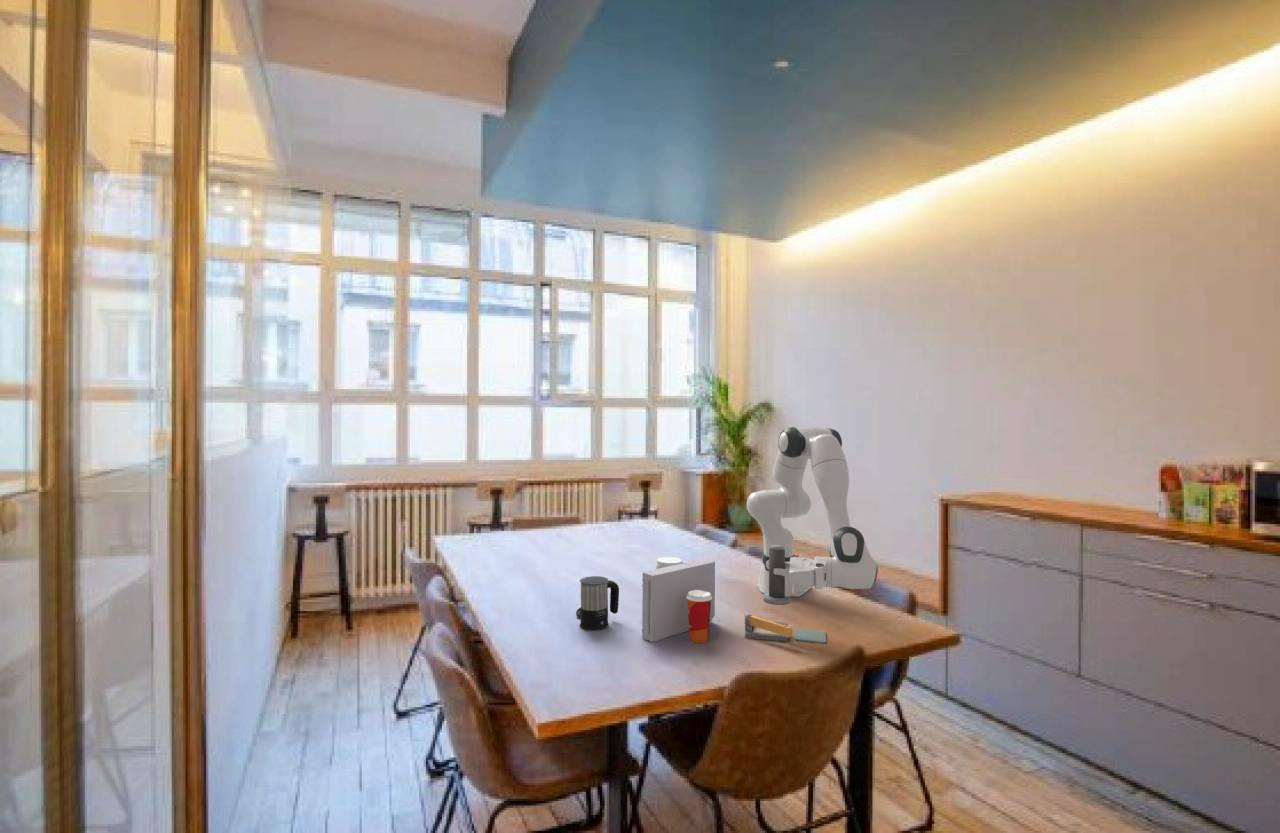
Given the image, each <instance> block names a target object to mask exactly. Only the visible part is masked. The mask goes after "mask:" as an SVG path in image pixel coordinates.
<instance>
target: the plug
mask: <svg viewBox="0 0 1280 833" xmlns="http://www.w3.org/2000/svg"><path fill="white" fill-rule="evenodd" d="M774 568H781V569H785V549H784V546H782V545H771V546H770V549H769V593H763V602H764V603H766V604H769V605H773V606H785V605H786V606H787V605H789V604H790V603H791V596H789V595H788V594H785V576H782V575H776V574H774Z"/></svg>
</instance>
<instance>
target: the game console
mask: <svg viewBox="0 0 1280 833" xmlns="http://www.w3.org/2000/svg"><path fill="white" fill-rule="evenodd" d="M641 580H642V585H641V586H642V614H641V615H642V616H641V617H642V621H641V622H642V624H641V626H642V628H641V634H642V635H641V636H642V639H644V640H646V641H648V640H649V642H651V643H654V642H657V641H660V640H663V639H666V638H669V637H672V636H675V635H678V634H681V633H685V632H687V631H688V632H689V619H688V599H687V598H686V597H687V595H688V592H690V591H693V590H702V591H707V592H710V594H711V597H712V599H711V607H710V623H709V625H710V624H711V623H712V620H713V619H714V618H715V614H716V613H715V612H716V611H715V608H716V607H715V605H716V603H715V602H716V598H715V597H716V561H714V560H709V559H706V558H699V559H695V560H689V561H686V562H682V564H678V565H673V566H668V567H664V568H659V569H656V568H655V569H650V570H643V571H642V579H641ZM659 639H660V640H659ZM653 641H654V642H653Z"/></svg>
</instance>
